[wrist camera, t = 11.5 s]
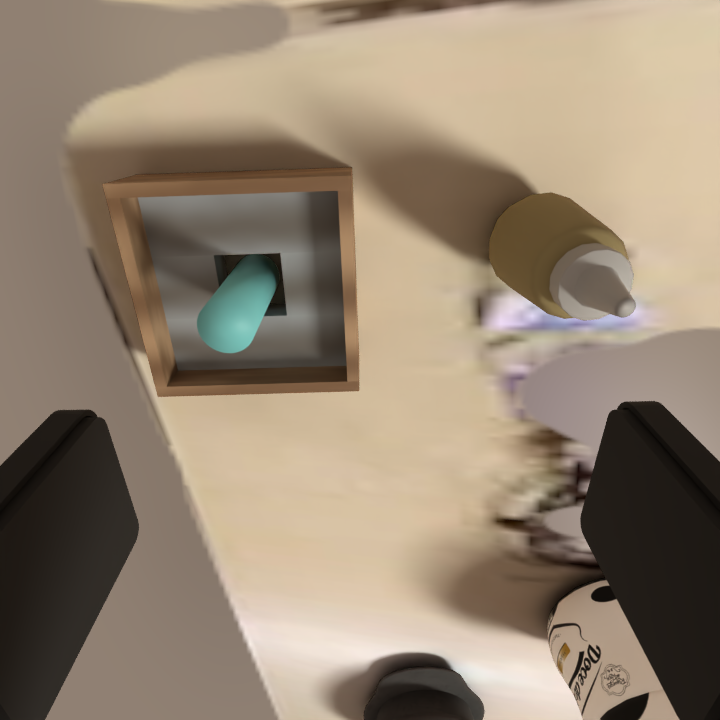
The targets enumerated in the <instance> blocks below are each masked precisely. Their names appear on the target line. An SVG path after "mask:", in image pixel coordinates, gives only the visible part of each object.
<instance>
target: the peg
mask: <svg viewBox="0 0 720 720" xmlns="http://www.w3.org/2000/svg"><path fill="white" fill-rule="evenodd" d="M279 280H280V274H279V270H278V268H277V266H276V264H275V263H274V262H273V261H272V260H271V259H270V258H268V257H267V256H264V255H261V254H251V255H247V256H245V257H244V258H243V259H241V260H240V262H239V263H238V264H237V265H236V267H235V268H234V269H233V271H232V272H231V273H230V274H229V276H228V277H227V278H226V279H225V281H224V282H223V283H222V284H221V286H220V287H219V288H218V289H217V291H216V292H215V293H214V295H213V296H212V297H211V298H210V300H209V301H208V302H207V303H206V305H205V306H204V307H203V308H202V310H201V311H200V313H199V315H198V318H197V329H198V332H199V335H200V337H201V338H202V340H203V341H204V342H205V343H206V344H207V345H208V346H209V347H211V348H212V349H214V350H216V351H219V352H223V353H236V352H239V351H242V350H244V349H245V348H247V347H248V346H249V345H250V343H251V342H252V340H253V338H254V336H255V334H256V332H257V329H258V327H259V325H260V323H261V321H262V319H263V316H264V314H265V312H266V310H267V308H268V306H269V303H270V301H271V299H272V297H273V295H274V293H275V290H276V288H277V286H278V284H279Z"/></svg>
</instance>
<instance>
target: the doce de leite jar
mask: <svg viewBox="0 0 720 720" xmlns="http://www.w3.org/2000/svg"><path fill="white" fill-rule="evenodd" d="M547 636H548V642H549V647H550V651H551V654H552V657H553V660H554V662H555V665H556V667H557V669H558V671H559V672H560V674H561V676H562V677H563V679H564V680H565V682H566V683H567V685H568V686H569V688H570V689H571V691H572V693H573V695H574V697H575V699H576V701H577V704H578V706H579V709H580V712H581V715H582V718H583V720H679V718H678V717H677V715H676V713H675V711H674V709H673V707H672V705H671V703H670V701H669V699H668V697H667V695H666V693H665V692H664V690H663V688H662V686H661V684H660V682H659V680H658V678H657V676H656V674H655V672H654V670H653V668H652V666H651V665H650V663H649V661H648V659H647V657H646V655H645V653H644V651H643V649H642V647H641V645H640V643H639V641H638V639H637V638H636V636H635V634H634V632H633V630H632V628H631V626H630V624H629V622H628V620H627V618H626V616H625V614H624V612H623V611H622V609H621V607H620V605H619V603H618V601H617V599H616V597H615V595H614V593H613V591H612V589H611V587H610V585H609V584H608V582H607V580H606V578H605V579H597V580H594V581H591V582H589V583H587V584H584V585H581V586H579V587H576V588H575V589H574V590H572V591H571V592H570V593H568V594H567V595H565V596H564V597H562V598H561V599H560V600H559V602H558V603H557V604H556V605H555V607H554V608H553V609H552V611H551V613H550V615H549V619H548V624H547Z"/></svg>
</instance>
